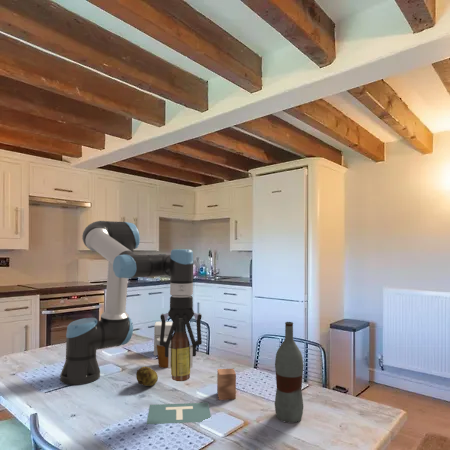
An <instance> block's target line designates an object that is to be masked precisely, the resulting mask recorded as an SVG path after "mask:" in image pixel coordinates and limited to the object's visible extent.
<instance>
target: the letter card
mask: <svg viewBox="0 0 450 450" xmlns="http://www.w3.org/2000/svg"><path fill="white" fill-rule="evenodd" d="M210 417H211V418H212V415H211V409H210V404H209V402H192V403H191V402H190V403H189V402H187V403H186V402H185V403H164V404H163V403H159V404H149V408H148V413H147V419H146V425H163V424H164V425H165V424H166V425H167V424H183V423H184V424H185V423H187V424H189V423H203V422H202V421H203V420H205V419H208V418H210Z"/></svg>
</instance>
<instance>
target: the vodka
mask: <svg viewBox="0 0 450 450" xmlns="http://www.w3.org/2000/svg"><path fill="white" fill-rule="evenodd" d="M284 324H285V326H284V327H285V328H284V329H285V330H284V331H285V332H284V333H285V334H284V336H285V337H284V340H283V342H282V343H281V345H280V346H279V348H278V349H277V351H276V354H275V360H274V361H275V362H274V368H275V382H276V388H275V389H276V390H275V398H274V409H275V410H274V411H275V415H276V418H277V419H278V420H279V419H280V420H279V421H281V420H282V421H281V422H283V421H285V423H288V422H295V423H298V422H300V421H301V420H302V419H303V413H304V399H303V391H302V389H303V388H302V386H303V375H304V374H303V372H304V360H303V354H302V351H301V350H300V349H299V347H298V345H297V344H296V341H295V340H294V323H293V321H285V323H284ZM297 421H298V422H297Z"/></svg>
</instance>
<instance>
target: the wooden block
mask: <svg viewBox="0 0 450 450" xmlns="http://www.w3.org/2000/svg"><path fill="white" fill-rule="evenodd" d="M216 372H217V375H216V377H217V381H216V383H217V385H216V387H217V388H216V390H217V391H216V394H217V393H218V394H217V398H218V397H219V398H218V400H219V401H222V400H223V401H224V400H237V399H236V398H237V395H236V393H237V373H236V371H235V369H234V368H218V369H217V371H216Z"/></svg>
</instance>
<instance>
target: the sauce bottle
mask: <svg viewBox="0 0 450 450" xmlns="http://www.w3.org/2000/svg"><path fill="white" fill-rule="evenodd" d="M184 322H185V320H184V318H179V319H178V320H177V324H176V327H175V330H174V333H173V335H172V338H171V368H170V373H171V374H170V375H171V380H172V381H176V382H185V381H188V380H190V376H191V368H190V345H191V342H190V340H189V339H190V338H189V336H188V334H187V327H186V325H184Z"/></svg>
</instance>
